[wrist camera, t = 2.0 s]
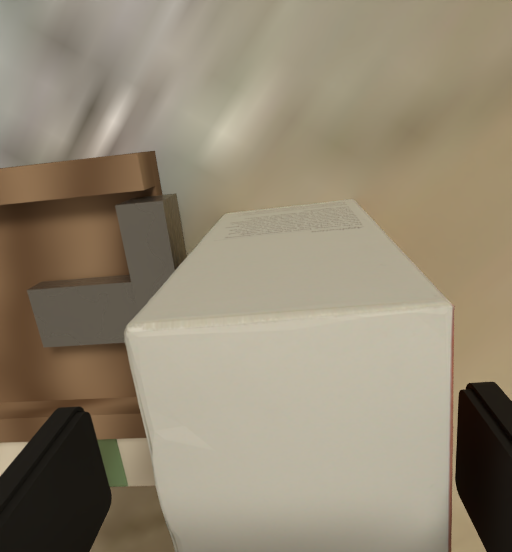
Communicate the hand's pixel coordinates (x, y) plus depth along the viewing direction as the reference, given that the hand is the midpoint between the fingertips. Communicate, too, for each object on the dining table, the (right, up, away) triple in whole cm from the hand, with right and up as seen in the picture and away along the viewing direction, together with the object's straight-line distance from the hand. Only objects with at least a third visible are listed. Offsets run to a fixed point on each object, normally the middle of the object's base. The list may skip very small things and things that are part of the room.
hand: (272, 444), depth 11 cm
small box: (+2, +4, +11) cm, 11 cm away
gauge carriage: (-7, 0, +11) cm, 13 cm away
